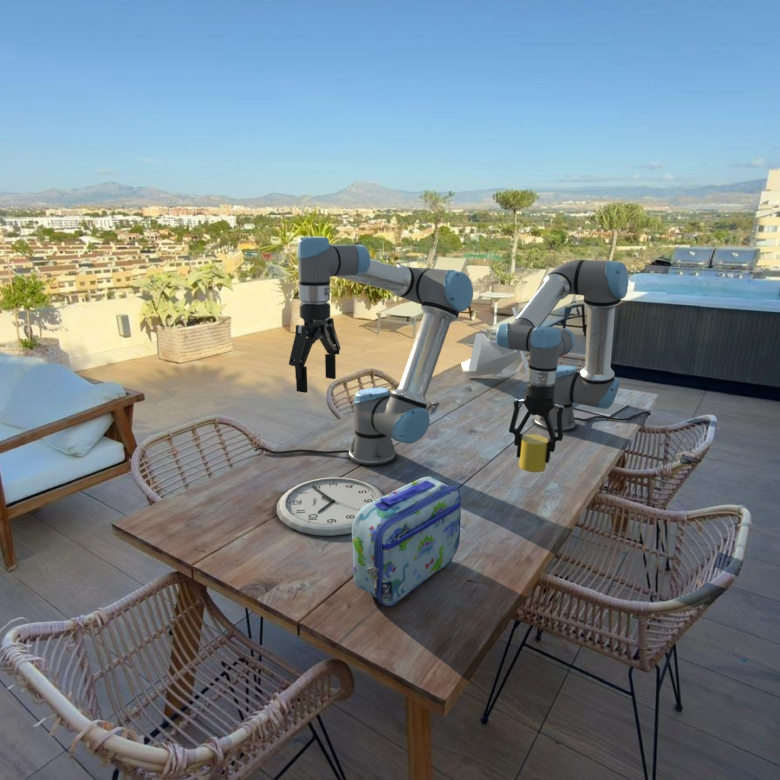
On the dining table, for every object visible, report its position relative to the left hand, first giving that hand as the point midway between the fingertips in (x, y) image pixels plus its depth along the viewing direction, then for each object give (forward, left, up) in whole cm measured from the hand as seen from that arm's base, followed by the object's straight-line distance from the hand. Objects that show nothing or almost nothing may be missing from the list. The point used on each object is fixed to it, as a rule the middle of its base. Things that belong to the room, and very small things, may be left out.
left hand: (316, 384), depth 135 cm
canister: (+51, +34, -27) cm, 67 cm away
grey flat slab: (+65, +123, -34) cm, 144 cm away
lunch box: (+35, -20, -34) cm, 52 cm away
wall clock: (+4, 0, -34) cm, 34 cm away
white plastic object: (+17, +137, -34) cm, 142 cm away
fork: (-1, +89, -34) cm, 96 cm away
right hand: (+51, +35, -24) cm, 66 cm away
